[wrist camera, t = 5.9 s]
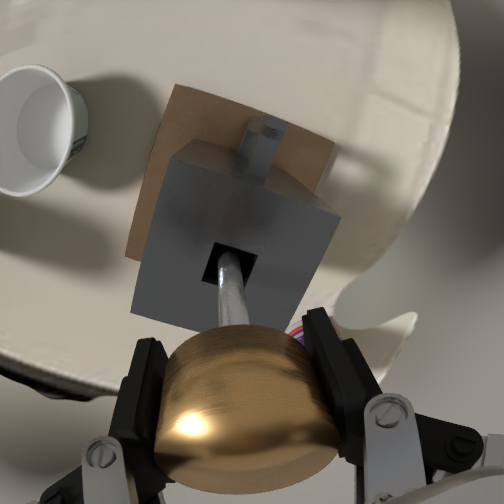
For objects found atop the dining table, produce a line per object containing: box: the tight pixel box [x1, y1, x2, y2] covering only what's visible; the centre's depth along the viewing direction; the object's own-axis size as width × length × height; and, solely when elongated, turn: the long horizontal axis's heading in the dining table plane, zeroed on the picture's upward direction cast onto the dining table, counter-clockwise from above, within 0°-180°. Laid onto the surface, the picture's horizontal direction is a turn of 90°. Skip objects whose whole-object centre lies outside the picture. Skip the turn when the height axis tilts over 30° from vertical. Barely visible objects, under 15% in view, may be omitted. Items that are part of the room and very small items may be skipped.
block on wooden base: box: [125, 84, 341, 332], centre depth 24 cm, size 18×16×16 cm
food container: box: [0, 64, 89, 197], centre depth 23 cm, size 12×12×6 cm
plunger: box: [154, 242, 340, 494], centre depth 16 cm, size 6×6×20 cm
